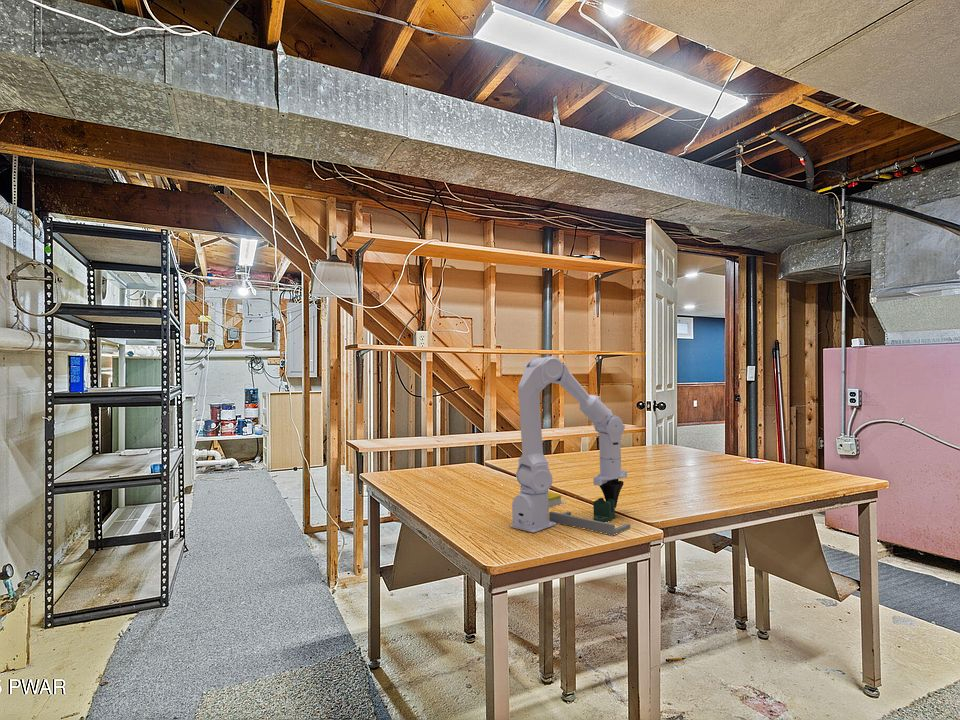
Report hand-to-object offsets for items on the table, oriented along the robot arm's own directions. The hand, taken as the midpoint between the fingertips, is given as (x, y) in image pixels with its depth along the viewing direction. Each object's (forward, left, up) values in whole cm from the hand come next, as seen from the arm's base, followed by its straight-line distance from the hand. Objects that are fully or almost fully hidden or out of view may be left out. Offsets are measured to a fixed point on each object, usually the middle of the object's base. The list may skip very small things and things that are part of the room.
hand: (611, 507), depth 141 cm
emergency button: (-3, +23, -3) cm, 23 cm away
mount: (-4, 0, -2) cm, 4 cm away
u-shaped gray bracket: (-12, 0, -2) cm, 12 cm away
